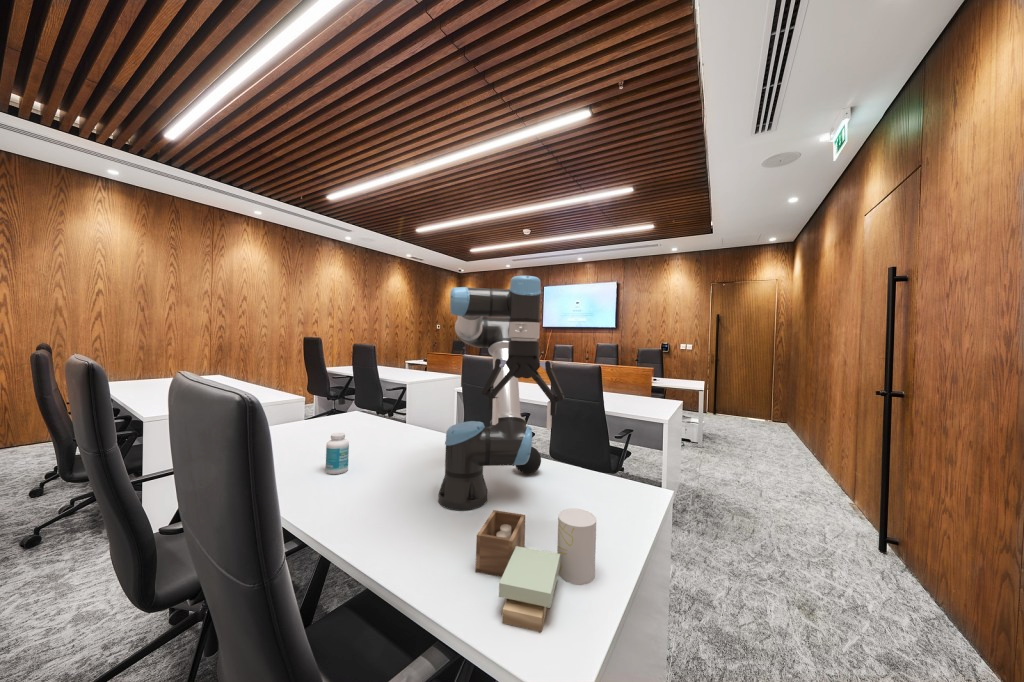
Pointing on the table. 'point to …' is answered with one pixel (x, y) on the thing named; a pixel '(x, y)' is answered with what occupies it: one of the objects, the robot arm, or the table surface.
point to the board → (524, 615)
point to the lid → (530, 576)
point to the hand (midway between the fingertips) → (521, 426)
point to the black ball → (531, 462)
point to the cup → (576, 545)
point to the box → (499, 541)
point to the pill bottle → (337, 454)
